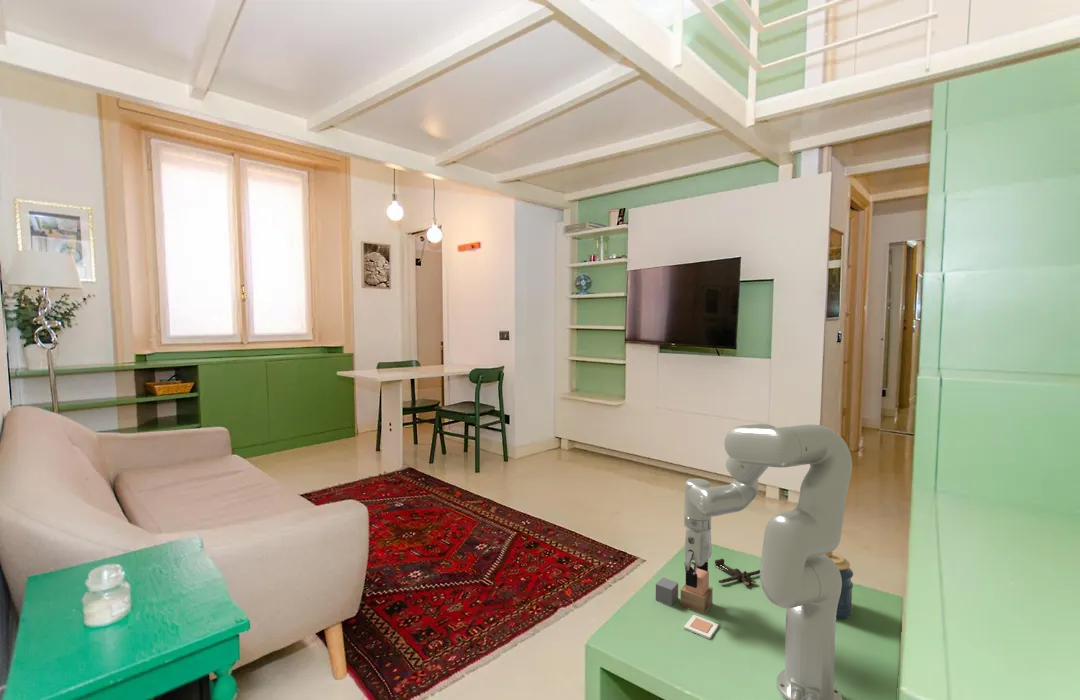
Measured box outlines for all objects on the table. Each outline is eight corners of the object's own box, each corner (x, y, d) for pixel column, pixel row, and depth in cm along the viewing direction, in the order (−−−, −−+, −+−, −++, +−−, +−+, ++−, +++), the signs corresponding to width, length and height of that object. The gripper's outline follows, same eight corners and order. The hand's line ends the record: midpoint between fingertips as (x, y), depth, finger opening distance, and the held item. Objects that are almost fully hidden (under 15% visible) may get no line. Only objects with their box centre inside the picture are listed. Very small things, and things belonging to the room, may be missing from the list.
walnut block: (704, 615, 133) (704, 598, 132) (680, 606, 137) (680, 589, 137) (712, 604, 138) (712, 587, 138) (689, 595, 142) (689, 579, 142)
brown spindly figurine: (738, 553, 164) (772, 568, 150) (738, 565, 164) (773, 582, 150) (697, 562, 157) (729, 579, 144) (698, 575, 157) (730, 593, 144)
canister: (863, 617, 131) (865, 556, 130) (822, 622, 129) (824, 560, 128) (828, 592, 144) (829, 536, 143) (790, 596, 142) (791, 539, 141)
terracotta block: (702, 595, 134) (702, 578, 133) (685, 589, 137) (685, 573, 137) (708, 588, 137) (708, 571, 137) (692, 582, 141) (692, 566, 140)
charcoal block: (671, 606, 137) (671, 589, 137) (655, 600, 140) (655, 584, 140) (678, 598, 141) (678, 582, 140) (662, 593, 144) (662, 577, 144)
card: (709, 639, 122) (709, 636, 122) (683, 628, 126) (683, 626, 126) (718, 626, 127) (718, 623, 127) (693, 616, 132) (693, 614, 131)
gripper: (699, 535, 128) (698, 597, 128) (720, 516, 141) (719, 572, 142) (673, 528, 132) (672, 588, 133) (695, 510, 146) (695, 564, 146)
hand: (696, 579), depth 137 cm, fingers open, 8 cm apart
